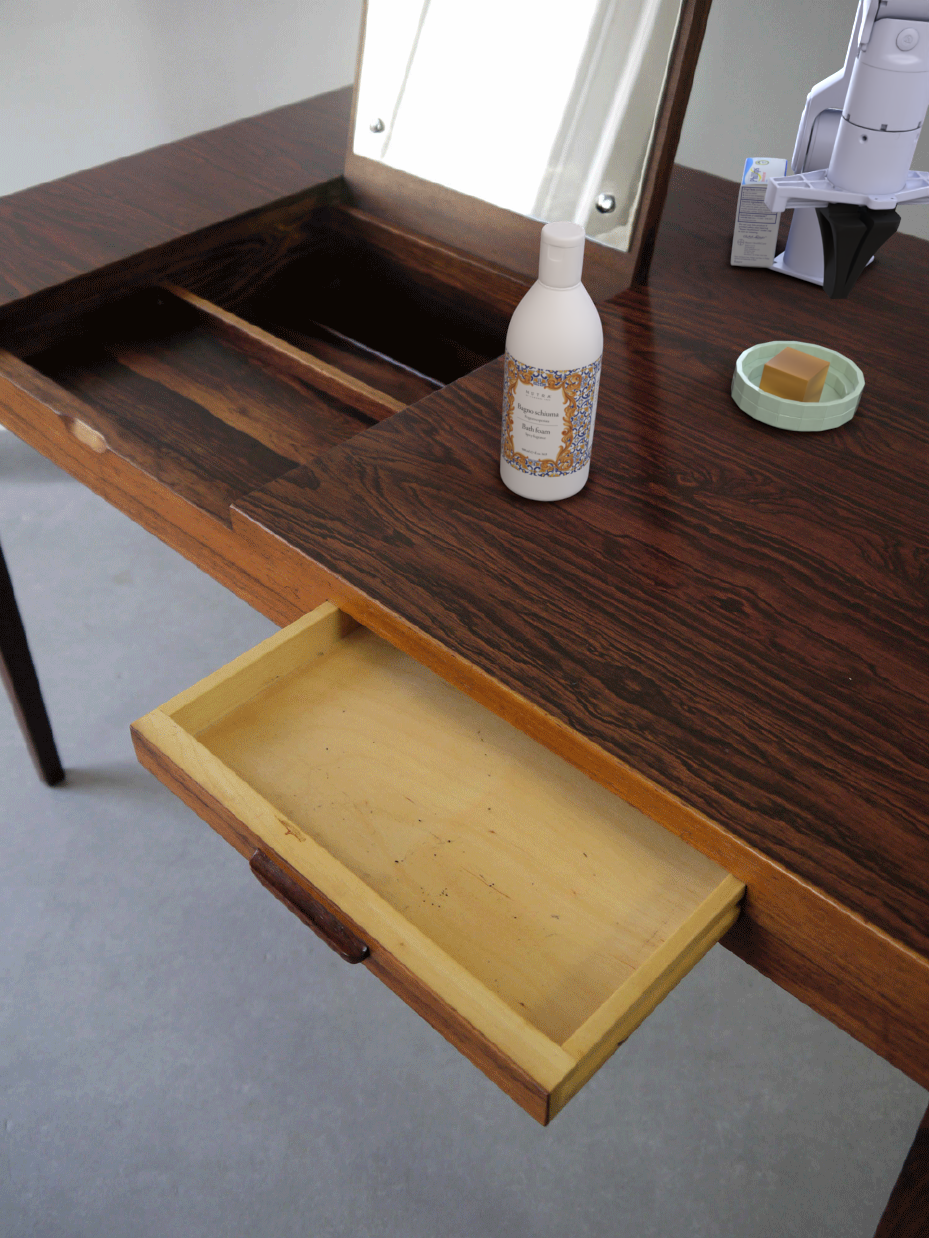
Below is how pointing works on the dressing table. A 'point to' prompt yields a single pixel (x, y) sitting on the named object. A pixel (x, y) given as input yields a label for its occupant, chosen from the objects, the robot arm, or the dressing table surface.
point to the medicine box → (756, 215)
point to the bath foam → (552, 375)
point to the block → (794, 376)
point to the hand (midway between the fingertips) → (834, 293)
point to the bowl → (789, 414)
